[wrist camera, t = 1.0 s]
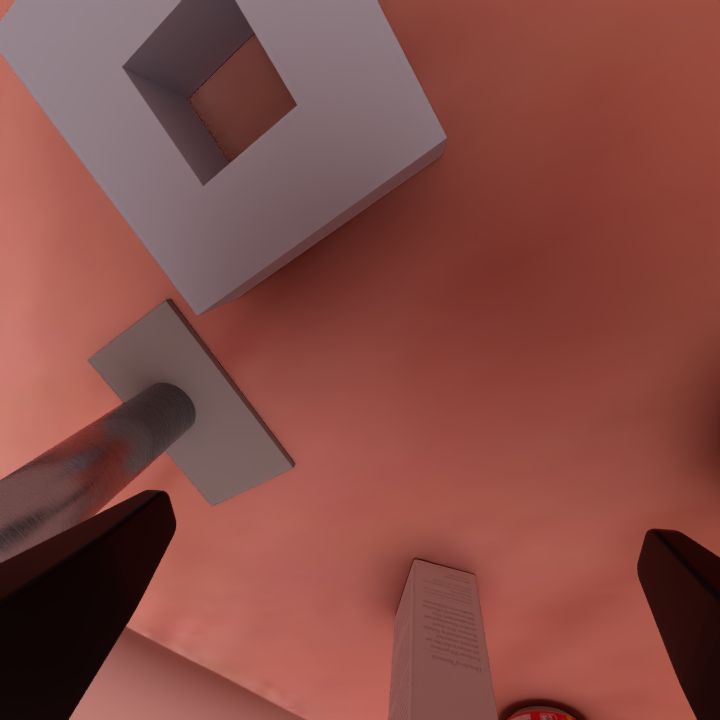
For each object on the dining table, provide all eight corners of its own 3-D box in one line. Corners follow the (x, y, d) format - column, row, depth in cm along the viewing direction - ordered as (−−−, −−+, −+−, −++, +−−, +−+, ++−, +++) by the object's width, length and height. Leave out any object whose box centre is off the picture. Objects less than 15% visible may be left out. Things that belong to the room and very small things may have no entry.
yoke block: (441, 155, 16) (447, 137, 13) (238, 297, 20) (197, 315, 16) (280, -157, 14) (226, -295, 10) (81, 75, 17) (-11, 38, 14)
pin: (206, 418, 23) (-17, 628, 11) (168, 440, 24) (-71, 652, 12) (170, 373, 22) (-110, 547, 10) (132, 398, 23) (-159, 580, 12)
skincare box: (453, 632, 26) (474, 931, 15) (393, 615, 27) (372, 896, 16) (479, 572, 24) (525, 872, 13) (413, 554, 25) (405, 832, 13)
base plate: (295, 464, 23) (293, 468, 23) (215, 502, 26) (212, 506, 25) (170, 298, 21) (165, 300, 20) (92, 357, 23) (87, 360, 23)
